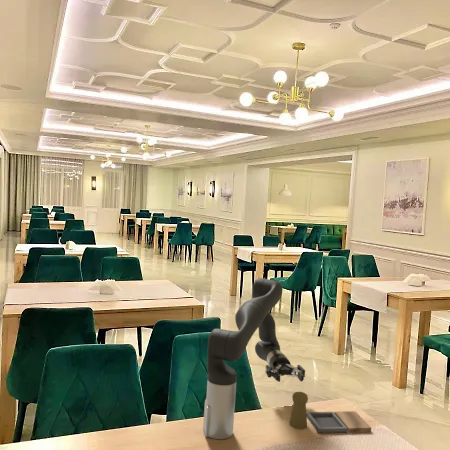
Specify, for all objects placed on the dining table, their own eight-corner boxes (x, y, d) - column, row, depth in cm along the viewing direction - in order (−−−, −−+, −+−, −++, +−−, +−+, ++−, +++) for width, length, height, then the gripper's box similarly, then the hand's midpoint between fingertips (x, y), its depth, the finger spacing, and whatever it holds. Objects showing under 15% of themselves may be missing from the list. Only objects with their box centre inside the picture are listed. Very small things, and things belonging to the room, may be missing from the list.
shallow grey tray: (318, 433, 157) (318, 428, 157) (306, 416, 169) (306, 412, 168) (347, 432, 159) (347, 428, 158) (332, 415, 170) (333, 411, 170)
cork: (305, 420, 165) (307, 389, 164) (308, 429, 159) (311, 397, 158) (287, 420, 165) (290, 389, 164) (290, 428, 159) (293, 396, 158)
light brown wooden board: (348, 432, 159) (348, 428, 159) (334, 415, 170) (334, 411, 170) (370, 432, 160) (371, 427, 160) (355, 415, 172) (355, 411, 172)
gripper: (261, 353, 187) (272, 369, 171) (296, 353, 189) (310, 368, 173) (260, 371, 187) (271, 389, 171) (294, 371, 190) (308, 388, 174)
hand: (290, 379), depth 172 cm, fingers open, 8 cm apart
